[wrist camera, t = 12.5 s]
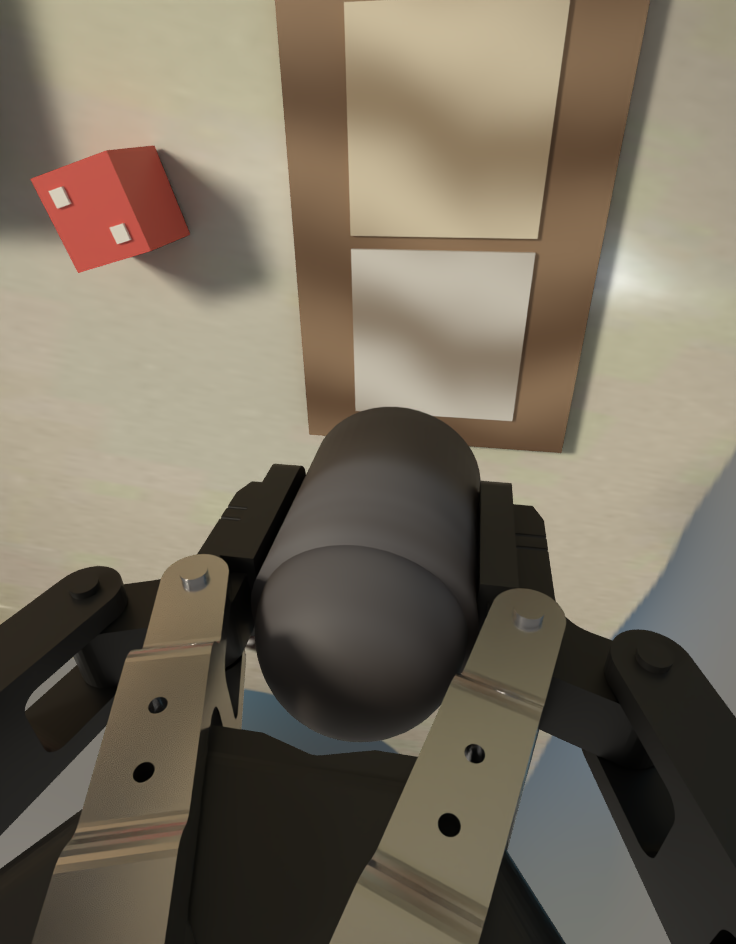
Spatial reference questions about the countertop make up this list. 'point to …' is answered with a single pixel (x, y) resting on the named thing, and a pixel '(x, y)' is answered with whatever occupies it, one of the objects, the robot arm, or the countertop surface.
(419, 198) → the game board
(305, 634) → the dark grey capsule
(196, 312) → the countertop surface
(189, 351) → the countertop surface
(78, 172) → the red die
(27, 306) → the countertop surface
